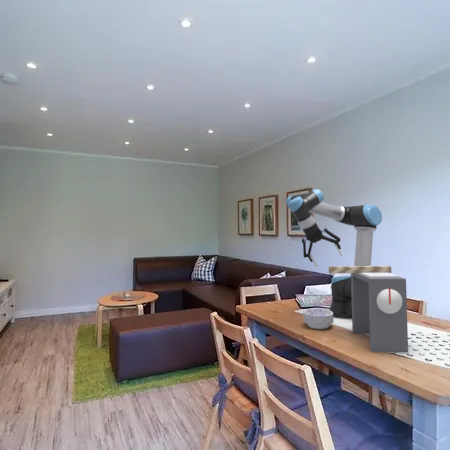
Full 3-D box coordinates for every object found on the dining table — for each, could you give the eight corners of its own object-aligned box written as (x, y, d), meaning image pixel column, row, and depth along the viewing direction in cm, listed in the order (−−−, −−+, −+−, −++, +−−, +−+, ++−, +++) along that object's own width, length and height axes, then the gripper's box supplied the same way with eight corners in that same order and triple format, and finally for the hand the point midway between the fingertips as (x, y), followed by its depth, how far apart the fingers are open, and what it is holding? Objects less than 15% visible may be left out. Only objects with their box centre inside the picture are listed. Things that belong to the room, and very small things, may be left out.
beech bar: (330, 273, 159) (330, 267, 159) (328, 272, 162) (328, 266, 162) (391, 272, 157) (391, 266, 157) (388, 272, 160) (388, 265, 160)
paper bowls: (310, 332, 167) (310, 316, 167) (299, 323, 182) (298, 309, 182) (339, 330, 170) (338, 314, 170) (325, 322, 185) (325, 307, 185)
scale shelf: (373, 353, 137) (371, 277, 138) (352, 331, 166) (350, 269, 167) (409, 353, 136) (407, 276, 137) (381, 332, 165) (380, 268, 166)
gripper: (286, 238, 171) (306, 273, 173) (332, 216, 162) (352, 252, 165) (287, 234, 178) (307, 267, 180) (331, 212, 169) (351, 247, 172)
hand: (329, 260), depth 173 cm, fingers open, 13 cm apart
